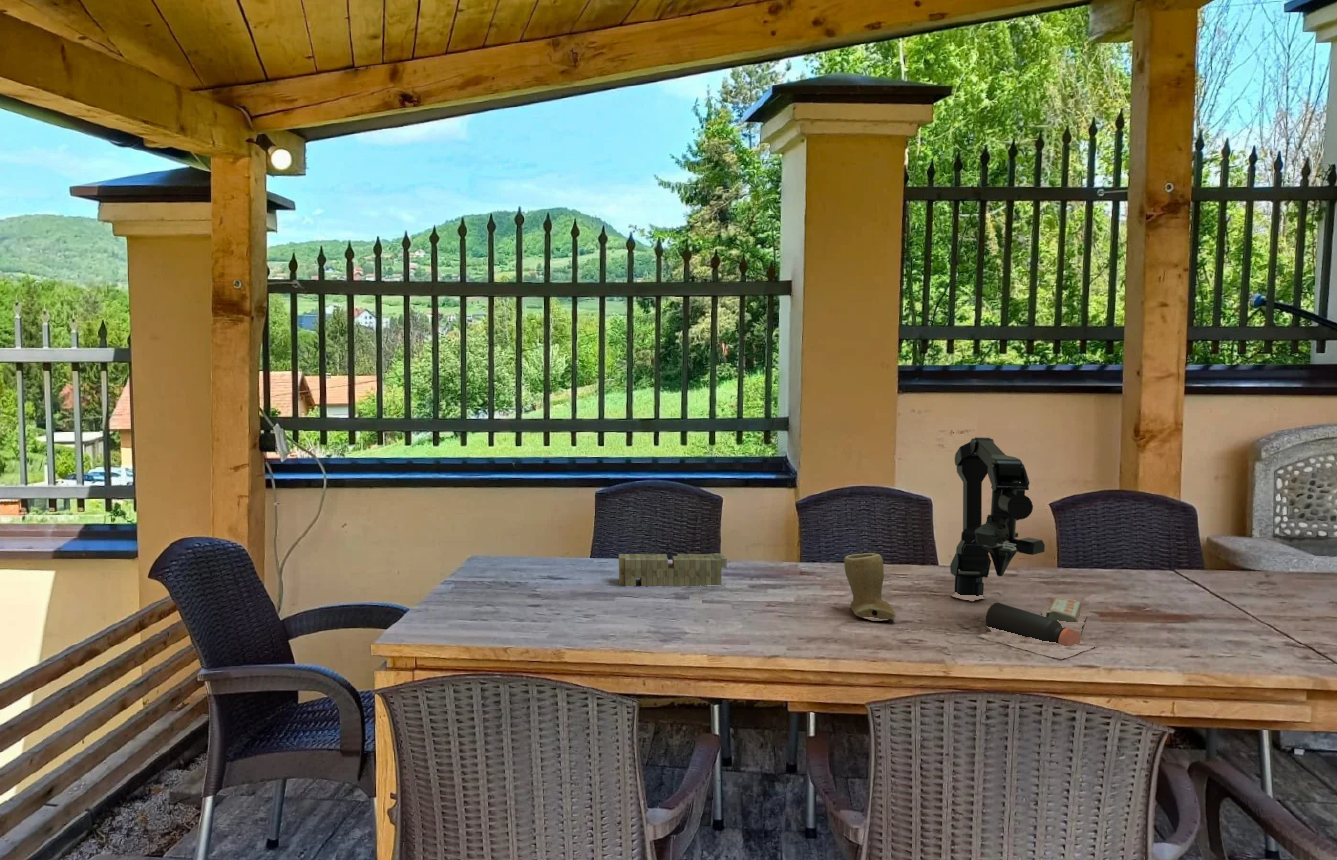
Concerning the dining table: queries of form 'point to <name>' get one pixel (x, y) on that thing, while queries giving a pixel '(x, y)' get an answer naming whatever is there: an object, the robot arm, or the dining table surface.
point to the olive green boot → (867, 585)
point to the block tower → (671, 569)
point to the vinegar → (1029, 625)
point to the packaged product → (1064, 609)
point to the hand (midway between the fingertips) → (999, 575)
